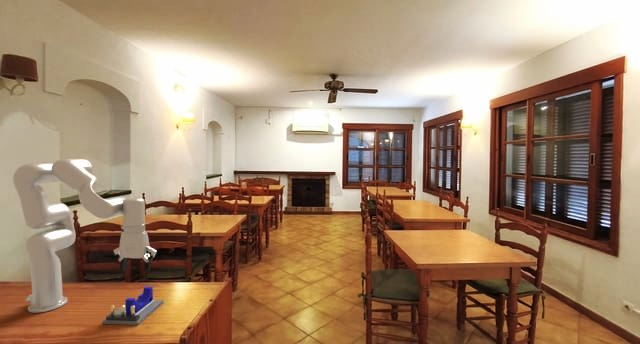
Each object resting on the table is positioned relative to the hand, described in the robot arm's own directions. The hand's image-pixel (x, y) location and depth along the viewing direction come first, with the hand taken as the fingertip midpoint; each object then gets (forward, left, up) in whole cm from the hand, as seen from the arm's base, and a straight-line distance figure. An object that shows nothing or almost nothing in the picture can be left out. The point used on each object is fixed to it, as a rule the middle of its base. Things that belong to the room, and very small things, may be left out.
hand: (135, 270), depth 129 cm
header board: (0, -2, -17) cm, 17 cm away
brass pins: (0, -9, -15) cm, 18 cm away
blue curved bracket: (0, 0, -16) cm, 16 cm away
